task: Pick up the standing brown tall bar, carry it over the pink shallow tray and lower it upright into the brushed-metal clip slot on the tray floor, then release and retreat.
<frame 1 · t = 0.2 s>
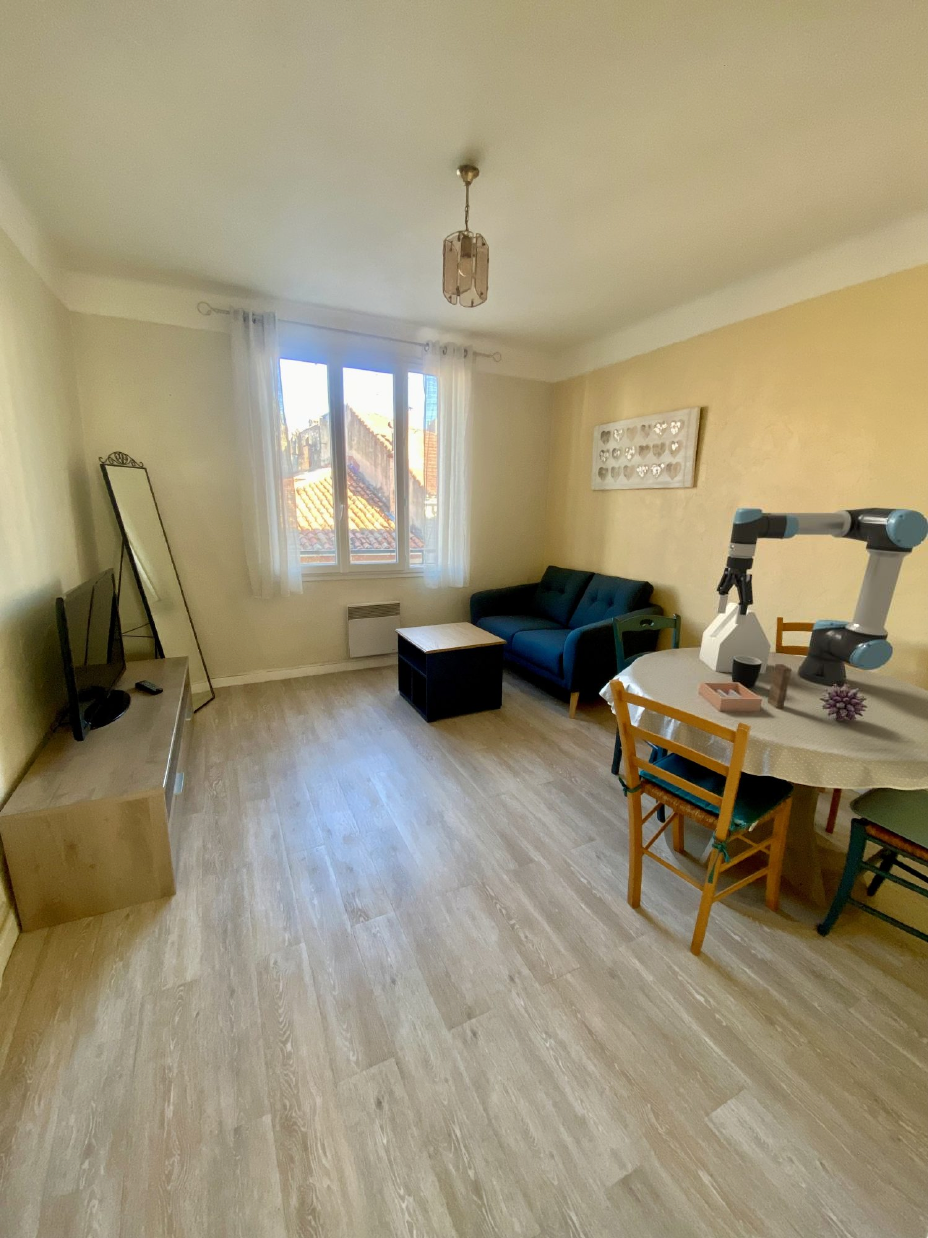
hand: (729, 618, 162), 27 cm above the table, fingers open, 13 cm apart
white house-shaped block: (730, 666, 196), on the table
mug: (740, 684, 178), on the table
purple spiky ball: (838, 720, 151), on the table
pink shallow tray: (728, 702, 162), on the table
brown tall bar: (775, 705, 160), on the table
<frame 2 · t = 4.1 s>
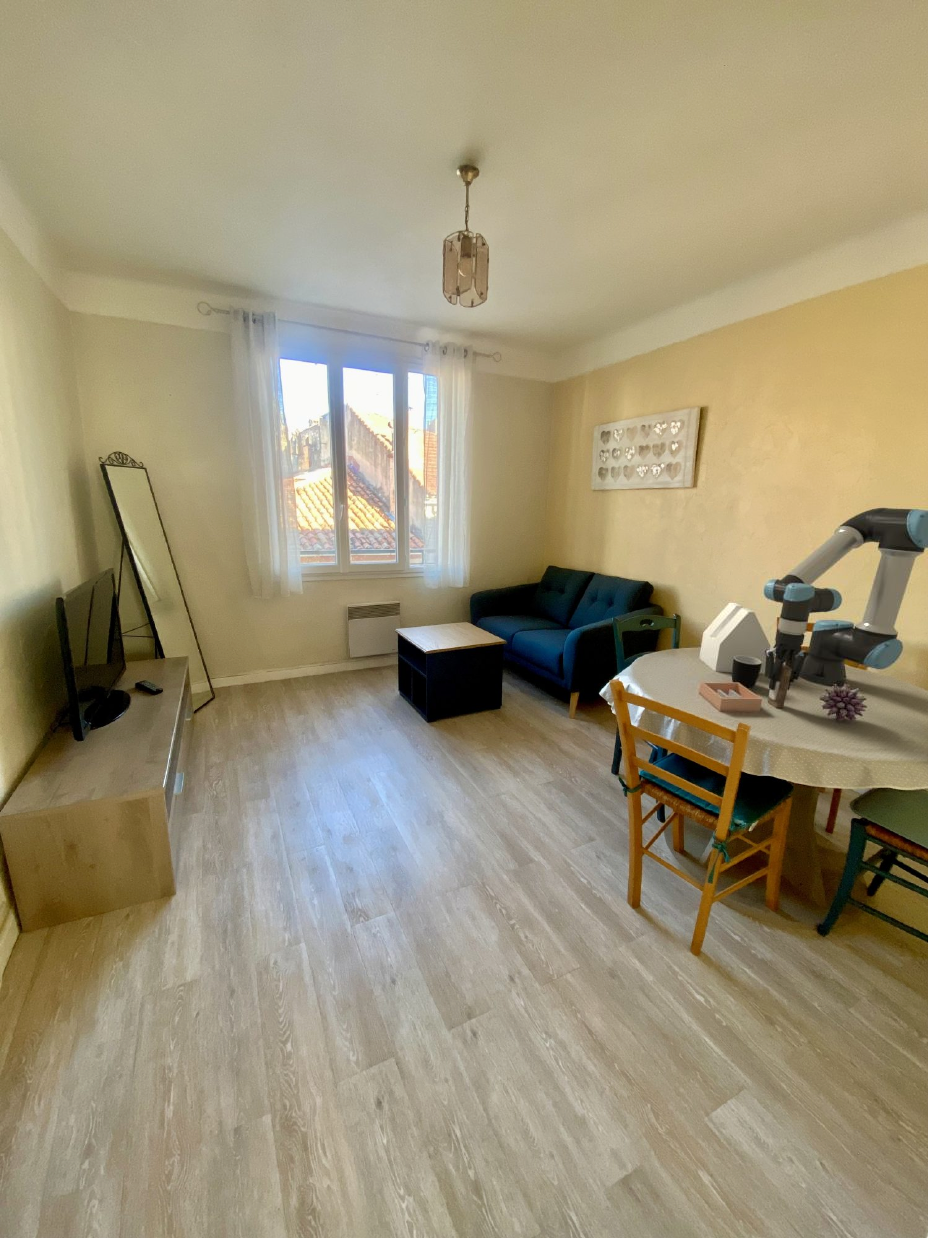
hand: (776, 698, 160), 3 cm above the table, fingers closed on brown tall bar, 2 cm apart
brown tall bar: (775, 705, 160), on the table, touching gripper
everything else where it was.
when the fingers open (4 cm above the table, at t = 9.2 s): brown tall bar stays where it is, resting on pink shallow tray.
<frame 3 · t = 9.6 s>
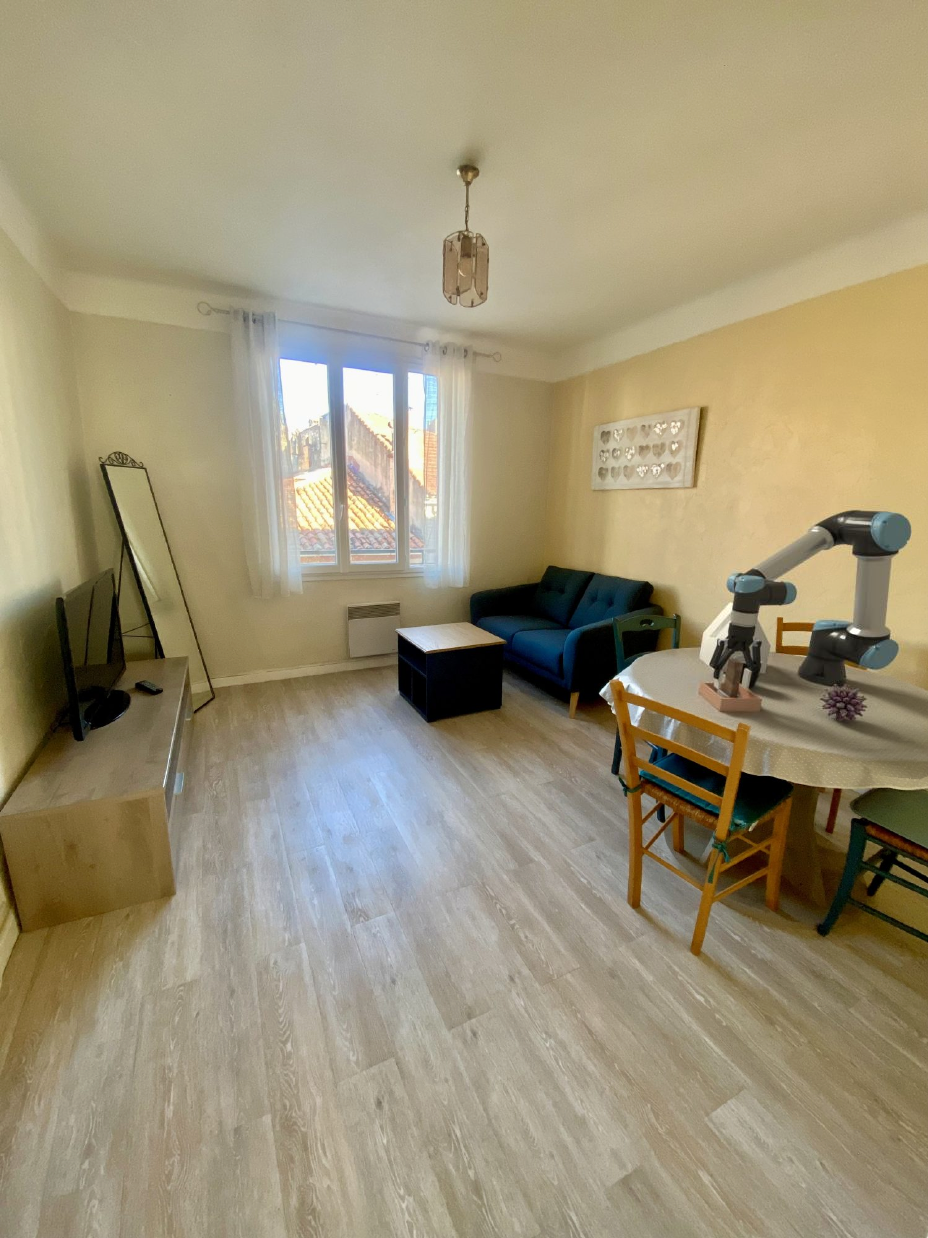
hand: (730, 687, 160), 5 cm above the table, fingers open, 9 cm apart
brown tall bar: (728, 699, 162), point 1 cm above the table, touching pink shallow tray
everything else where it was.
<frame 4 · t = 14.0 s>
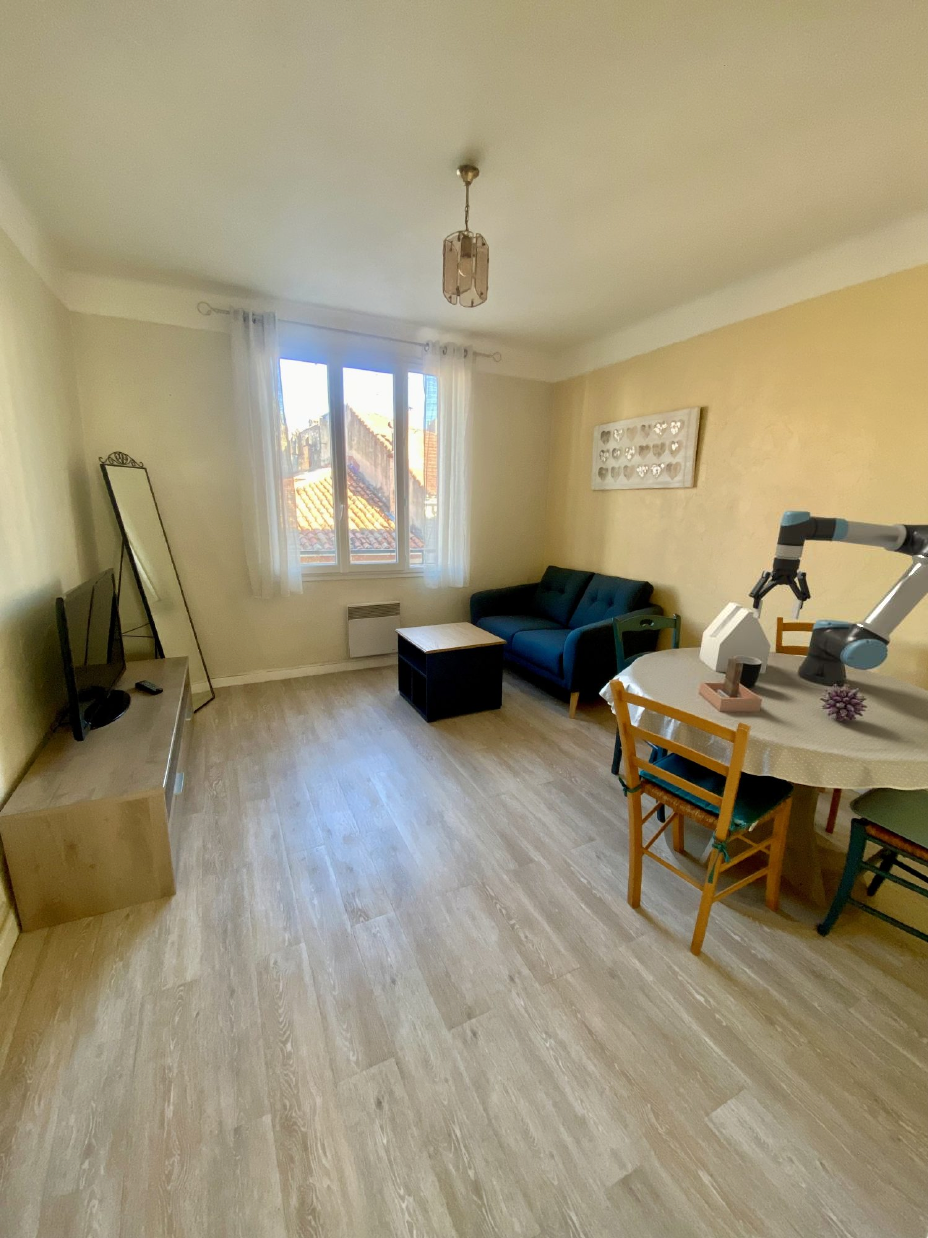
hand: (775, 618, 167), 27 cm above the table, fingers open, 13 cm apart
nothing on the table moved.
at the end: brown tall bar 0.0 cm off-centre on the pink shallow tray, point 1.1 cm above the pink shallow tray's base; brown tall bar tilted 0°; the gripper is holding nothing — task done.
